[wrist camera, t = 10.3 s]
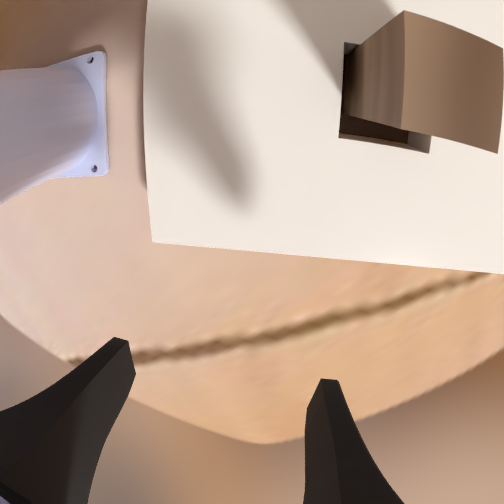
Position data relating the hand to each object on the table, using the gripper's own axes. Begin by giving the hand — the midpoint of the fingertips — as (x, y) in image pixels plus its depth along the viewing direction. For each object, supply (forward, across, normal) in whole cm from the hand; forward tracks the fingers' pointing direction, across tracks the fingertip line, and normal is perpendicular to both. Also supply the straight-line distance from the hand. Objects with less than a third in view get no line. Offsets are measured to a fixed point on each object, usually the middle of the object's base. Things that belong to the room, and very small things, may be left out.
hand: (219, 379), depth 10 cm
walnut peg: (+9, -5, -11) cm, 15 cm away
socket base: (+9, -5, -10) cm, 15 cm away
